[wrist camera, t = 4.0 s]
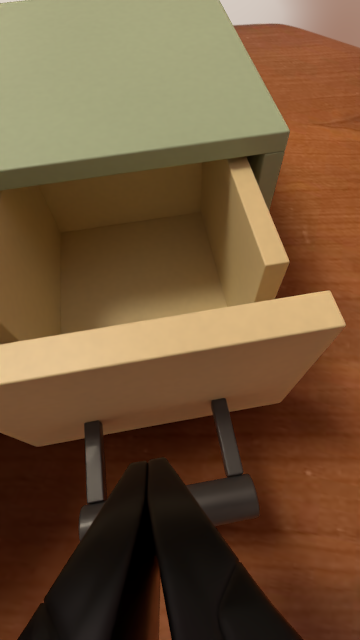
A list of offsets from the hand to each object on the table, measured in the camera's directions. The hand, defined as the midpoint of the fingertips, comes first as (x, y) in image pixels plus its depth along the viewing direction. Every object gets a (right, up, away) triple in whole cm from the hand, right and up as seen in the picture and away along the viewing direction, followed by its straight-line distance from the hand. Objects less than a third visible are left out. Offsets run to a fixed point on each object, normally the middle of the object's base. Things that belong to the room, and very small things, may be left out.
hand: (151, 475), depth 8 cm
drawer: (-1, +2, +10) cm, 10 cm away
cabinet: (-3, +10, +15) cm, 19 cm away
